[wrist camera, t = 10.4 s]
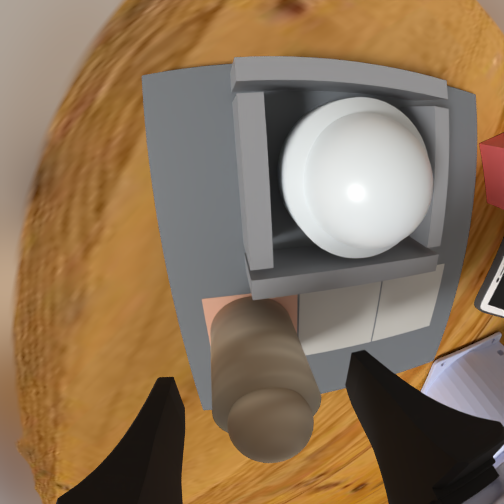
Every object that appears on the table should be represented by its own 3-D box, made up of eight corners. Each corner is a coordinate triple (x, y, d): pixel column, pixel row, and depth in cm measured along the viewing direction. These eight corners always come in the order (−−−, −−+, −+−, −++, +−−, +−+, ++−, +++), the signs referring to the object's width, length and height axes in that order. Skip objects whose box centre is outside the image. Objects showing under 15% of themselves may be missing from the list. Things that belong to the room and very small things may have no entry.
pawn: (291, 291, 14) (347, 413, 7) (291, 354, 15) (329, 468, 9) (204, 301, 13) (203, 436, 7) (216, 364, 15) (224, 485, 8)
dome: (396, 107, 10) (471, 107, 6) (393, 230, 13) (456, 273, 8) (268, 101, 10) (303, 81, 6) (276, 241, 12) (307, 301, 8)
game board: (463, 94, 12) (507, 95, 8) (426, 352, 19) (450, 381, 15) (147, 80, 10) (123, 62, 7) (203, 398, 17) (204, 442, 14)
